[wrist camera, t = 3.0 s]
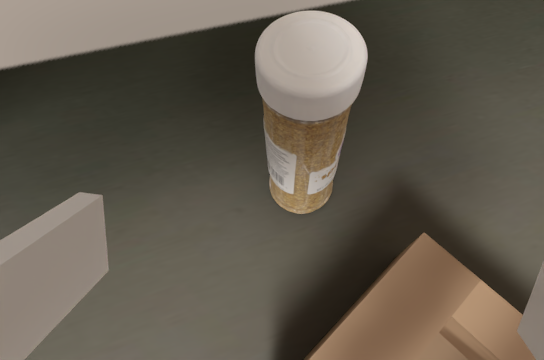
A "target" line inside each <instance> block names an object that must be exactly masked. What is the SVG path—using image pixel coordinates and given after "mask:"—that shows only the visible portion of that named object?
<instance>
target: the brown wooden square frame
mask: <svg viewBox="0 0 544 360" xmlns="http://www.w3.org/2000/svg"><path fill="white" fill-rule="evenodd" d="M522 316H523V315H522V314H521V313H520V312H519V311H518V310H516V309H515V308H514V307H513V306H512V305H510V304H509V303H508V302H507V301H506V300H505V299H503V298H502V297H501V296H500V295H499V294H497V293H496V292H495V291H494V290H493V289H491V288H490V287H489V286H488V285H487V284H485V283H484V282H483V281H482V280H481V279H479V278H478V277H477V276H476V275H475V274H473V273H472V272H471V271H470V270H469V269H467V268H466V267H465V266H464V265H463V264H461V263H460V262H459V261H458V260H457V259H455V258H454V257H453V256H452V255H451V254H449V253H448V252H447V251H446V250H445V249H444V248H442V247H441V246H440V245H439V244H438V243H436V242H435V241H434V240H433V239H432V238H430V237H429V236H428V235H427V234H426V233H422V234H421V235H420V236H419V237H418V238H417V239H416V240H415V241H413V242H412V243H411V244H410V245H409V246H408V247H407V248H405V249H404V250H403V251H402V252H401V253H400V254H399V255H398V256H397V257H396V258H395V259H394V260H393V261H392V262H391V264H390V265H389V266H388V267H387V268H386V269H385V270H384V271H383V272H382V274H381V275H380V276H379V277H378V278H377V279H376V280H375V281H374V282H373V283H372V285H371V286H370V287H369V288H368V289H367V290H366V291H365V292H364V293H363V294H362V296H361V297H360V298H359V299H358V300H357V301H356V302H355V303H354V304H353V305H352V307H351V308H350V309H349V310H348V311H347V312H346V313H345V314H344V315H343V316H342V318H341V319H340V320H339V321H338V322H337V323H336V324H335V325H334V326H333V327H332V329H331V330H330V331H329V332H328V333H327V334H326V335H325V336H324V337H323V339H322V340H321V341H320V342H319V343H318V344H317V345H316V346H315V347H314V348H313V350H312V351H311V352H310V353H309V354H308V355H307V356H306V357H305V358H304V359H303V360H536V359H535V357H534V356H533V354H532V353H531V351H530V350H529V348H528V347H527V345H526V344H525V342H524V341H523V339H522V338H521V336H520V335H519V333H518V332H517V329H518V327H519V324H520V321H521V319H522Z"/></svg>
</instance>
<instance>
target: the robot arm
mask: <svg viewBox="0 0 544 360" xmlns="http://www.w3.org/2000/svg"><path fill="white" fill-rule="evenodd" d="M108 271H109V268H108V256H107V244H106V232H105V220H104V208H103V196H102V195H97V194H89V193H81V192H79V193H77V194H76V195H74V196H72V197H71V198H69V199H67V200H66V201H64V202H63V203H61V204H59V205H58V206H56V207H54V208H53V209H51V210H49V211H48V212H46V213H44V214H43V215H41V216H40V217H38V218H36V219H35V220H33V221H31V222H30V223H28V224H26V225H25V226H23V227H22V228H20V229H18V230H17V231H15V232H13V233H12V234H10V235H8V236H7V237H5V238H3V239H2V240H0V360H24V359H25V358H26V357H27V356H28V355H29V354H30V353H31V352H32V351H33V350H34V349H35V348H36V347H37V346H38V345H39V343H40V342H41V341H42V340H43V339H44V338H45V337H46V336H47V335H48V334H49V333H50V332H51V331H52V330H53V329H54V328H55V327H56V326H57V325H58V323H59V322H60V321H61V320H62V319H63V318H64V317H65V316H66V315H67V314H68V313H69V312H70V311H71V310H72V309H73V308H74V307H75V306H76V304H77V303H78V302H79V301H80V300H81V299H82V298H83V297H84V296H85V295H86V294H87V293H88V292H89V291H90V290H91V289H92V288H93V287H94V285H95V284H96V283H97V282H98V281H99V280H100V279H101V278H102V277H103V276H104V275H105V274H106V273H107V272H108ZM517 332H518V333H519V335H520V336H521V338H522V339H523V341H524V342H525V344H526V345H527V347H528V348H529V350H530V351H531V353H532V354H533V356H534V357H535V359H536V360H544V261H543V264H542V266H541V269H540V272H539V274H538V277H537V280H536V282H535V285H534V287H533V290H532V293H531V295H530V298H529V301H528V303H527V306H526V308H525V311H524V314H523V316H522V319H521V321H520V324H519V327H518V329H517Z"/></svg>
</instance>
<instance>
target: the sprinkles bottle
mask: <svg viewBox="0 0 544 360" xmlns="http://www.w3.org/2000/svg"><path fill="white" fill-rule="evenodd" d="M367 59H368V54H367V48H366V44H365V41H364V39H363V37H362V35H361V34H360V33H359V31H358V30H357V29H356V28H355V27H354V26H353V25H352V24H351V23H349V22H348V21H347V20H345V19H343V18H341V17H339V16H337V15H334V14H331V13H327V12H322V11H300V12H295V13H291V14H288V15H285V16H283V17H281V18H279V19H277V20H276V21H274V22H273V23H271V24H270V25H269V26H268V27H267V28H266V29H265V30H264V31H263V33H262V34H261V36H260V38H259V40H258V42H257V45H256V48H255V69H256V80H257V86H258V90H259V92H260V94H261V96H262V98H263V107H264V119H263V121H264V132H265V141H266V151H267V160H268V169H269V173H270V180H269V185H270V191H271V194H272V197H273V198H274V200H275V201H276V202H277V204H279V206H281V207H282V208H284V209H286V210H287V211H290V212H293V213H298V214H304V213H310V212H313V211H314V210H317V209H319V208H321V207H322V206H323V205H324V204H325V203H326V202H327V200H328V199H329V197H330V195H331V193H332V186H333V178H334V175H335V173H336V169H337V165H338V161H339V156H340V152H341V148H342V144H343V140H344V136H345V132H346V124H347V121H348V116H349V112H350V108H351V105H352V103H353V102H354V100H355V99H356V97H357V96H358V94H359V91H360V88H361V85H362V82H363V78H364V74H365V69H366V65H367Z"/></svg>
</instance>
